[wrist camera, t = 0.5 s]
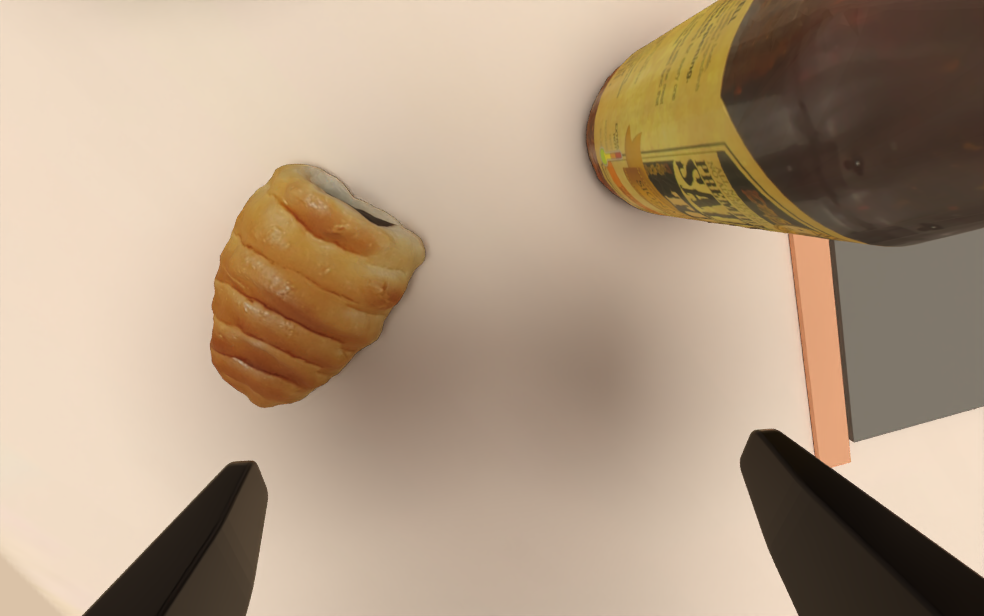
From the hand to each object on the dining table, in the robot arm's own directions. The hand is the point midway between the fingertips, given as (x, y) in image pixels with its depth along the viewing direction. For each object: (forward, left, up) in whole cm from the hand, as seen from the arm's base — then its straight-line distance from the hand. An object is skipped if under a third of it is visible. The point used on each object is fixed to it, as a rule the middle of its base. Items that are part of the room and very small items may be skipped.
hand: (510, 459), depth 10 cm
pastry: (+3, +6, -14) cm, 15 cm away
